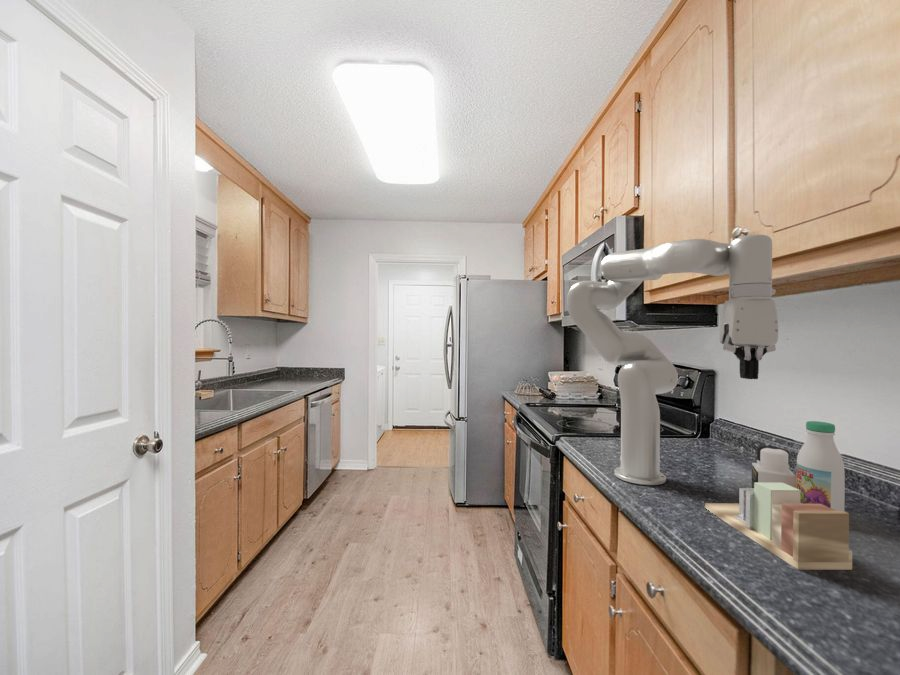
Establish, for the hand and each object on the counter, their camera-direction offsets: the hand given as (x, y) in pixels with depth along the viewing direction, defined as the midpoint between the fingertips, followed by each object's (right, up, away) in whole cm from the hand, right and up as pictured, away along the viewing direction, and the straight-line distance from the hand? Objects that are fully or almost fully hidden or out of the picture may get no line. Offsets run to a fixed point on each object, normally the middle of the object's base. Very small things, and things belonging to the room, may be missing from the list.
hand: (748, 378), depth 90 cm
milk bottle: (+14, -30, -2) cm, 33 cm away
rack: (-4, -29, -10) cm, 31 cm away
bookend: (-4, -28, -8) cm, 29 cm away
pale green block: (-4, -28, -13) cm, 31 cm away
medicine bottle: (+12, -29, +8) cm, 33 cm away
